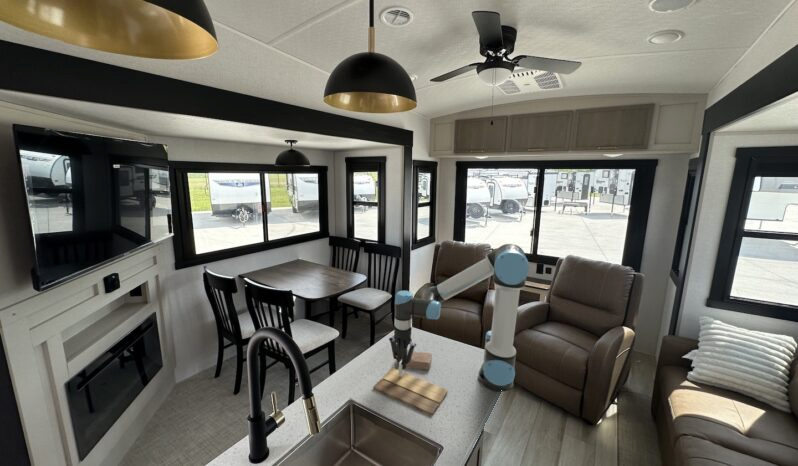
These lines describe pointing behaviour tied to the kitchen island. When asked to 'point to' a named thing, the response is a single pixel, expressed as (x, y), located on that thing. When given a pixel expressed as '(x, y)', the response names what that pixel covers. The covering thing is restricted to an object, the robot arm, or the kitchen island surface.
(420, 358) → the brick
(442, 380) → the kitchen island surface
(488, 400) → the kitchen island surface
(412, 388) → the plank
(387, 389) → the laid row
